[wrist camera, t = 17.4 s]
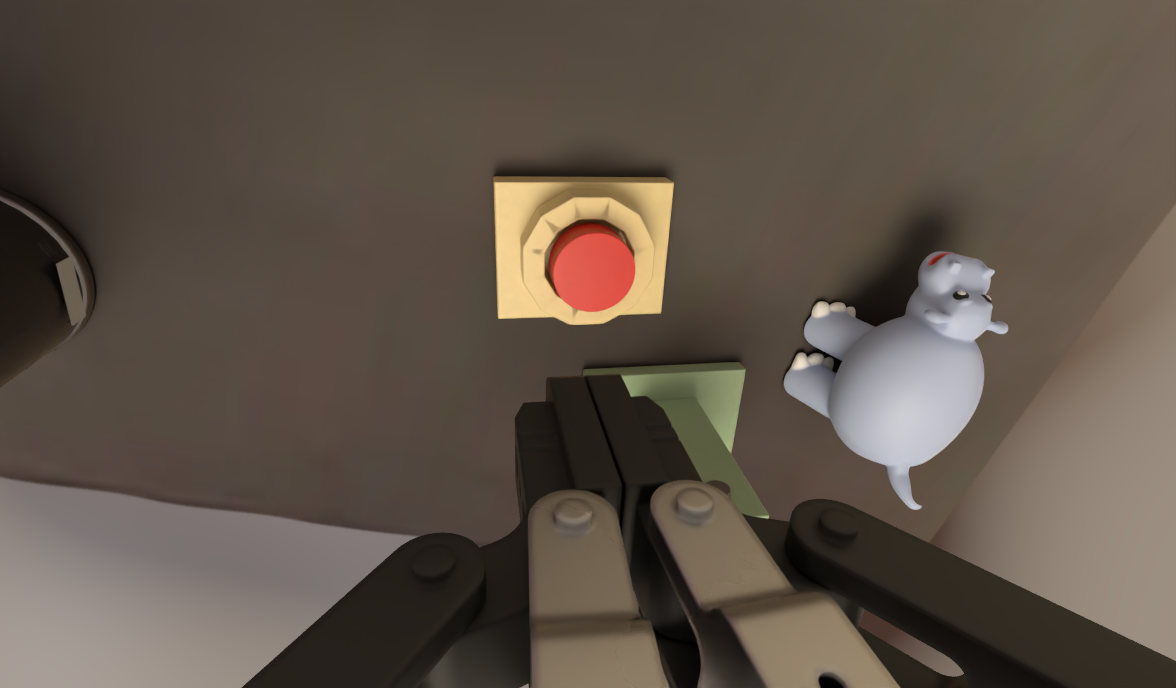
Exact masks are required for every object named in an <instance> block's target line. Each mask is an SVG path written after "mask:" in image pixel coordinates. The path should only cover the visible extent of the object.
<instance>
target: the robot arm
mask: <svg viewBox="0 0 1176 688" xmlns="http://www.w3.org/2000/svg"><path fill="white" fill-rule="evenodd" d="M94 296H95V292H94V282H93V277H92V274H91V270H90V268H89V265H88V263H87V261H86V259H85V257H84V255H83V253H82V252H81V250H80V249H79V247H78V245H77V244H76V243H75V242H74V240H73V239H72V238H71V237H70V235H69V234H68V233H67V232H66V231H65V230H64V229H63V228H62V227H61V226H60V225H59V224H58V223H57V222H56V221H54V220H53V219H52V218H51V217H50V216H48V215H47V214H46V213H44V212H43V211H41V210H40V209H39V208H37V207H35V206H34V205H32V204H30V203H29V202H27V201H25V200H23V199H21V198H19V197H17V196H15V195H13V194H11V193H8V192H6V191H3V190H0V387H2V386H3V385H4V384H6V383H7V382H9V381H10V380H11V379H13V378H14V377H15V376H17V375H18V374H19V373H21V372H22V371H24V370H25V369H27V368H28V367H29V366H31V365H32V364H33V363H35V362H36V361H37V360H39V359H40V358H42V357H43V356H44V355H46V354H47V353H49V352H51V351H53V350H55V349H57V348H58V347H60V346H62V345H63V344H64V343H66V342H67V341H68V340H70V339H71V338H72V337H74V336H75V335H76V334H77V333H78V332H79V331H80V330H81V329H82V328H83V327H84V325H85V324H86V322H87V321H88V319H89V317H90V315H91V312H92V309H93V304H94ZM515 471H516V487H517V496H518V505H519V512H520V522H521V523H520V524H519V526H518V527H517V528H516V529H515V530H514V531H512V532H511V533H510V534H509V535H507V536H505V537H504V538H502V539H500V540H498V541H496V542H493V543H491V544H488V545H485V546H483V547H480V548H479V547H478V546H477V545H476V544H475V543H474V542H473V541H471V540H470V539H468V538H466V537H463V536H461V535H457V534H452V533H433V534H427V535H423V536H420V537H417V538H415V539H412V540H410V541H408V542H407V543H405V544H403V545H402V546H400V547H399V548H398V549H397V550H396V551H394V552H393V553H392V554H391V555H390V556H389V557H388V558H386V559H385V560H384V561H383V562H382V563H381V564H380V565H379V566H377V567H376V568H375V569H374V570H373V571H372V572H371V573H370V574H368V576H366V577H365V578H364V579H363V580H362V581H361V582H359V583H358V584H357V585H356V586H355V587H354V588H353V589H352V590H351V591H349V592H348V593H347V594H346V595H345V596H344V597H343V598H342V599H340V600H339V601H338V602H337V603H336V604H335V605H334V606H333V607H332V608H331V609H329V610H328V611H327V612H326V613H325V614H324V615H322V616H321V618H319V619H318V620H317V621H316V622H315V623H314V624H313V625H311V626H310V627H309V628H308V629H307V630H306V631H305V632H303V633H302V634H301V635H300V636H299V637H298V638H297V639H296V640H295V641H293V642H292V643H291V644H290V645H289V646H288V647H287V648H285V649H284V650H283V651H282V652H281V653H280V654H279V655H278V656H277V657H275V658H274V659H273V660H272V661H271V662H270V663H269V664H268V665H266V666H265V667H264V668H263V669H262V670H261V671H260V672H259V673H257V674H256V675H255V676H254V677H253V678H252V679H251V680H250V681H249V682H247V683H246V684H245V685H244V686H243V687H242V688H520V687H522V686H524V685H526V684H528V687H529V688H1176V661H1174V660H1172V659H1170V658H1168V657H1166V656H1164V655H1162V654H1160V653H1158V652H1155V651H1153V650H1151V649H1149V648H1147V647H1145V646H1143V645H1141V644H1139V643H1137V642H1135V641H1133V640H1130V639H1128V638H1126V637H1124V636H1122V635H1120V634H1118V633H1116V632H1114V631H1112V630H1109V629H1107V628H1105V627H1103V626H1101V625H1099V624H1097V623H1095V622H1093V621H1091V620H1088V619H1086V618H1084V617H1082V616H1080V615H1078V614H1076V613H1074V612H1072V611H1070V610H1068V609H1066V608H1063V607H1061V606H1059V605H1057V604H1055V603H1053V602H1051V601H1049V600H1047V599H1045V598H1043V597H1040V596H1038V595H1036V594H1034V593H1032V592H1030V591H1028V590H1026V589H1024V588H1021V587H1020V586H1017V585H1015V584H1013V583H1011V582H1009V581H1007V580H1005V579H1003V578H1001V577H998V576H996V575H994V574H992V573H990V572H988V571H986V570H984V569H982V568H980V567H978V566H975V565H973V564H971V563H969V562H967V561H965V560H963V559H961V558H959V557H957V556H955V555H953V554H950V553H948V552H946V551H944V550H942V549H940V548H938V547H936V546H933V545H931V544H929V543H927V542H925V541H923V540H921V539H919V538H917V537H915V536H913V535H911V534H909V533H906V532H904V531H902V530H900V529H898V528H896V527H894V526H892V525H890V524H888V523H886V522H883V521H881V520H879V519H877V518H875V517H873V516H871V515H869V514H867V513H865V512H863V511H860V510H858V509H856V508H854V507H852V506H849V505H847V504H844V503H841V502H838V501H833V500H826V499H814V500H808V501H805V502H802V503H800V504H799V505H797V506H796V507H795V508H794V510H793V511H792V515H791V518H790V522H787V521H780V520H774V519H767V518H760V517H754V516H749V515H746V514H742V513H741V512H740V511H739V509H738V508H737V506H736V505H735V504H734V502H733V501H732V500H731V499H730V497H729V496H727V495H726V494H725V493H724V492H722V491H721V490H720V489H718V488H716V487H714V486H712V485H709V484H706V483H703V481H702V480H701V478H700V476H699V474H698V472H697V470H696V468H695V467H694V465H693V463H692V461H691V459H690V457H689V455H688V454H687V452H686V450H685V448H684V446H683V444H682V443H681V441H680V440H679V439H678V435H677V433H676V431H675V430H674V428H673V427H672V424H671V422H670V420H669V418H668V417H667V415H666V413H665V411H664V409H663V408H662V407H660V406H659V405H658V404H656V403H655V402H654V401H652V400H651V399H650V398H649V397H647V396H634V397H631V395H630V393H629V391H628V389H627V387H626V385H625V382H624V380H623V378H622V376H621V375H620V374H603V375H585V376H584V377H583V376H565V377H548V378H547V381H546V402H530V403H523V405H522V406H521V408H520V410H519V412H518V413H517V415H516V417H515ZM634 591H635V594H636V597H637V601H638V604H639V607H638V609H637V605H636V600H635V595H634ZM864 609H865V610H867V611H869V612H871V613H873V614H874V615H876V616H878V617H880V618H881V619H883V620H885V621H887V622H888V623H890V624H892V625H894V626H895V627H897V628H899V629H901V630H902V631H904V632H906V633H908V634H909V635H911V636H913V637H915V638H917V639H918V640H920V641H922V642H924V643H925V644H927V645H929V646H931V647H932V648H934V649H936V650H938V651H939V652H941V653H943V654H945V655H946V656H948V657H950V658H951V659H952V660H953V661H954V662H955V663H956V664H957V665H958V666H959V667H960V668H961V669H962V671H963V672H964V674H963V675H961V676H957V677H951V676H945V675H942V674H940V673H938V672H936V671H934V670H932V669H930V668H929V667H927V666H925V665H924V664H922V663H920V662H919V661H917V660H915V659H913V658H912V657H910V656H909V655H907V654H905V653H903V652H902V651H900V650H898V649H897V648H895V647H893V646H892V645H890V644H888V643H886V642H885V641H883V640H881V639H879V638H878V637H876V636H875V635H873V634H871V633H869V632H868V631H866V630H864V629H863V628H861V627H859V623H860V620H861V617H862V614H863V612H864Z"/></svg>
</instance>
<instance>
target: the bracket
mask: <svg viewBox="0 0 1176 688" xmlns="http://www.w3.org/2000/svg"><path fill="white" fill-rule="evenodd" d="M745 372H746V369H745V368H744V367H743V366H742V364H741V363H740V362H725V363H704V364H683V365H662V366H641V367H620V368H599V369H584V370H583V377H584V376H585V375H603V374H620V375H621V376H622V378H623V380H624V382H625V385H626V387H627V389H628V391H629V393H630V395H631V397H634V396H647V397H649V398H650V399H651V400H652V401H654V402H655V403H656V404H658V405H659V406H660V407H662V408H663V409H664V411H665V413H666V415H667V417H668V418H669V420H670V422H671V424H672V427H673V428H674V430H675V431H676V433H677V435H678V439H679V440H680V441H681V443H682V444H683V446H684V448H685V450H686V452H687V454H688V455H689V457H690V459H691V461H692V463H693V465H694V467H695V468H696V470H697V472H698V474H699V476H700V478H701V480H702V481H703V483H706V484H709V485H712V486H714V487H716V488H718V489H720V490H721V491H722V492H724V493H725V494H726V495H727V496H729V497H730V499H731V500H732V501H733V502H734V504H735V505H736V506H737V508H738V509H739V511H740V512H741V513H742V514H746V515H749V516H754V517H760V518H767V519H768V518H769V514H768V513H767V511H766V510H765V508H764V506H763V505H762V503H761V501H760V500H759V498H758V497H757V495H756V493H755V492H754V490H753V489H752V487H751V485H750V484H749V482H748V481H747V479H746V477H745V476H744V474H743V473H742V471H741V469H740V468H739V466H738V465H737V463H736V461H735V460H734V458H733V456H732V455H731V452H732V446H733V440H734V435H735V429H736V423H737V418H738V412H739V406H740V400H741V395H742V389H743V383H744V377H745Z"/></svg>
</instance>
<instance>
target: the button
mask: <svg viewBox="0 0 1176 688" xmlns="http://www.w3.org/2000/svg"><path fill="white" fill-rule="evenodd" d="M549 269H550V273H551V276H552V279H553V282H554V285H555V288H556V291H557V293H558V294H559V296H560V297H561V298H562V299H563V301H564V302H566V303H567V304H568V305H570V306H571V307H573V308H575V309H578V310H581V311H586V312H597V311H602V310H606V309H608V308H611V307H613V306H614V305H616V304H617V303H619V302H620V301H621V300H622V299H623V298H624V297H625V296H626V295H627V293H628V292H629V290H630V289H631V287H632V284H633V281H634V278H635V262H634V258H633V255H632V253H631V251H630V250H629V248H628V247H627V245H626V244H625V243H624V241H623V240H622V239H621V237H620V236H619V235H618V234H617V233H616V232H615V231H614V230H612V229H611V228H609V227H607V226H605V225H602V224H598V223H583V224H579V225H576V226H574V227H572V228H570V229H568V230H567V231H565V232H564V233H563V234H562V235H561V236H560V237H559V238H558V239H557V240H556V242H555V243H554V245H553V247H552V250H551V253H550V257H549Z"/></svg>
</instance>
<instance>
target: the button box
mask: <svg viewBox="0 0 1176 688" xmlns="http://www.w3.org/2000/svg"><path fill="white" fill-rule="evenodd" d="M493 186H494V219H495V251H496V284H497V311H498V318H499V319H505V318H536V317H555V318H557V319H559V320H561V321H563V322H565V323H567V324H569V325H570V324H571V325H580V324H603V323H606V322H608V321H609V320H611V319H613V318H615V317H617V316H618V315H627V314H657V313H661V308H662V298H663V288H664V278H665V268H666V258H667V248H668V238H669V228H670V218H671V207H672V197H673V187H674V183H673V182H672V181H670V180H669V179H667V178H666V177H522V176H494V177H493ZM583 223H598V224H602V225H605V226H607V227H609V228H611V229H612V230H614V231H615V232H616V233H617V234H618V235H619V236H620V237H621V239H622V240H623V241H624V243H625V244H626V245H627V247H628V248H629V250H630V251H631V253H632V255H633V258H634V262H635V278H634V281H633V284H632V287H631V289H630V290H629V292H628V293H627V295H626V296H625V297H624V298H623V299H622V300H621V301H620V302H619V303H617V304H616V305H614V306H613V307H611V308H608V309H606V310H602V311H597V312H586V311H581V310H578V309H575V308H573V307H571V306H570V305H568V304H567V303H566V302H564V301H563V299H562V298H561V297H560V296H559V294H558V293H557V291H556V288H555V285H554V282H553V279H552V276H551V273H550V269H549V257H550V253H551V250H552V247H553V245H554V243H555V242H556V240H557V239H558V238H559V237H560V236H561V235H562V234H563V233H564V232H565V231H567V230H568V229H570V228H572V227H574V226H576V225H579V224H583Z"/></svg>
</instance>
